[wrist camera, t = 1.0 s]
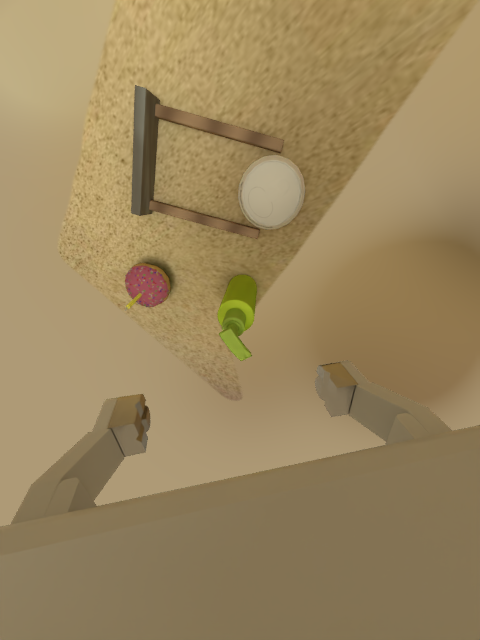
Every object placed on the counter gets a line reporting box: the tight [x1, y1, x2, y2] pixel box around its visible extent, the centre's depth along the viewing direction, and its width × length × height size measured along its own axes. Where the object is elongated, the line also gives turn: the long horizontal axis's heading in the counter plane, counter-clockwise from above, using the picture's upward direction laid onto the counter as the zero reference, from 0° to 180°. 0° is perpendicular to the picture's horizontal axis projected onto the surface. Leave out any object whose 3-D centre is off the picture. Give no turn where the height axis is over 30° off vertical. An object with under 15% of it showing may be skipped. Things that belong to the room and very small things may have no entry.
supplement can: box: [238, 155, 305, 230], centre depth 36 cm, size 8×8×15 cm
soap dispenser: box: [218, 275, 257, 361], centre depth 42 cm, size 6×7×20 cm
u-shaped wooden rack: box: [131, 85, 284, 239], centre depth 40 cm, size 22×16×5 cm
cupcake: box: [125, 263, 171, 311], centre depth 46 cm, size 9×8×12 cm
